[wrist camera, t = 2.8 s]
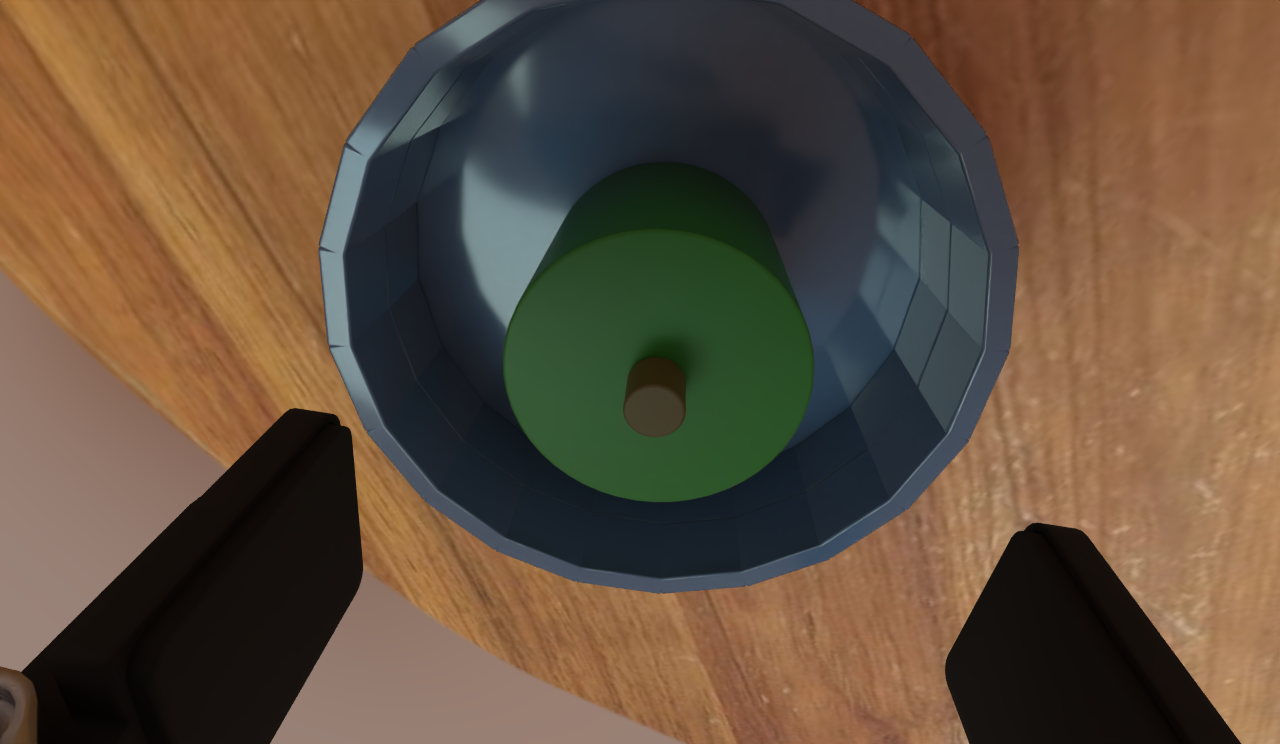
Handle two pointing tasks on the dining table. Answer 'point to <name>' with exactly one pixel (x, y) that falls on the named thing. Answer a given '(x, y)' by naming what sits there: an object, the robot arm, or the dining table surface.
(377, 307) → the serving bowl
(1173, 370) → the dining table surface
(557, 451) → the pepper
